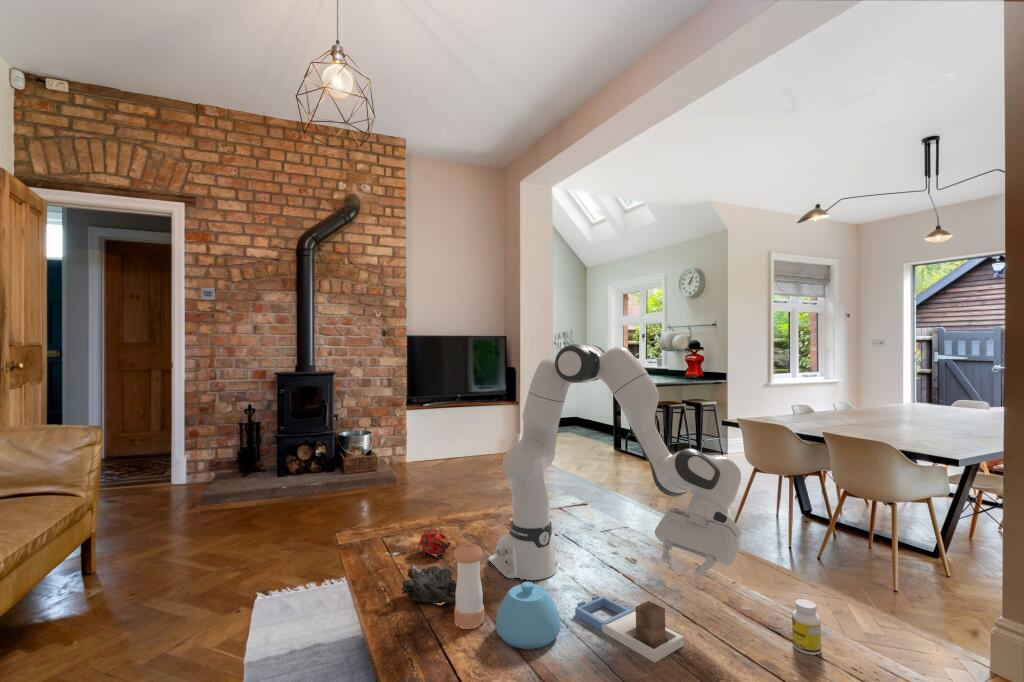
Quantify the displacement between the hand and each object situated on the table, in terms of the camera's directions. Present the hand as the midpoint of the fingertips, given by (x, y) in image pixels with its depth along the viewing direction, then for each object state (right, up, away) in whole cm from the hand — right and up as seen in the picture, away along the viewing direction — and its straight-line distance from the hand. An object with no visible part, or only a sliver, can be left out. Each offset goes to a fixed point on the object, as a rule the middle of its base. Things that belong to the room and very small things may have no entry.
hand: (681, 567), depth 122 cm
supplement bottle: (+24, -14, -10) cm, 29 cm away
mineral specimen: (-61, -15, +15) cm, 65 cm away
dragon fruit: (-65, -16, +45) cm, 81 cm away
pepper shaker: (-50, -15, +3) cm, 53 cm away
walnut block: (-9, -14, -7) cm, 18 cm away
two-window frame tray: (-13, -14, -2) cm, 19 cm away
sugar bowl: (-36, -15, -2) cm, 39 cm away
